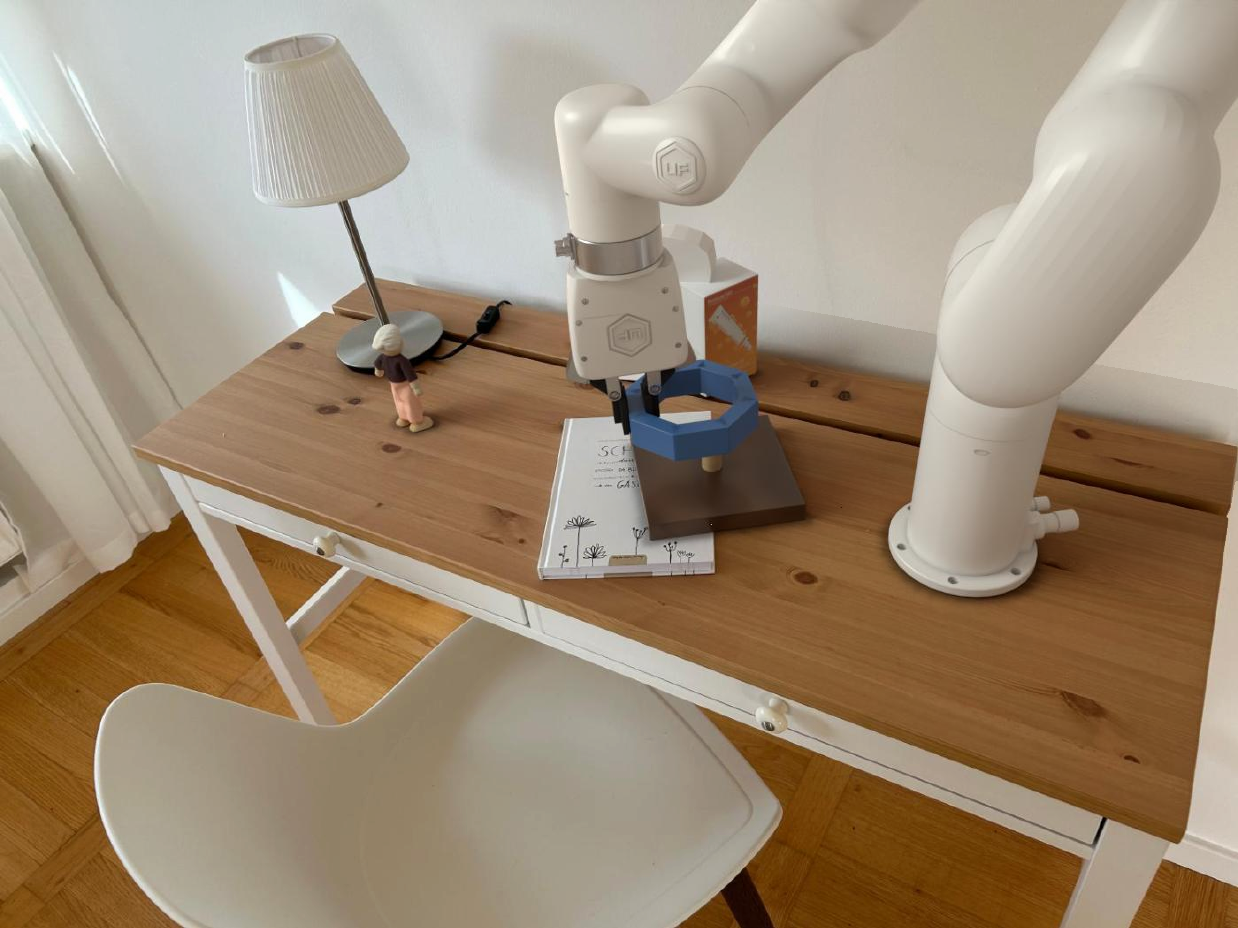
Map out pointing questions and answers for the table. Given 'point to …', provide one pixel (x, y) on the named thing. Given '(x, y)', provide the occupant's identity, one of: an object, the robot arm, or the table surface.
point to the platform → (719, 488)
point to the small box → (723, 316)
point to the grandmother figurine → (400, 378)
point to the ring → (697, 435)
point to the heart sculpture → (687, 257)
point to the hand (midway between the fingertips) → (637, 424)
